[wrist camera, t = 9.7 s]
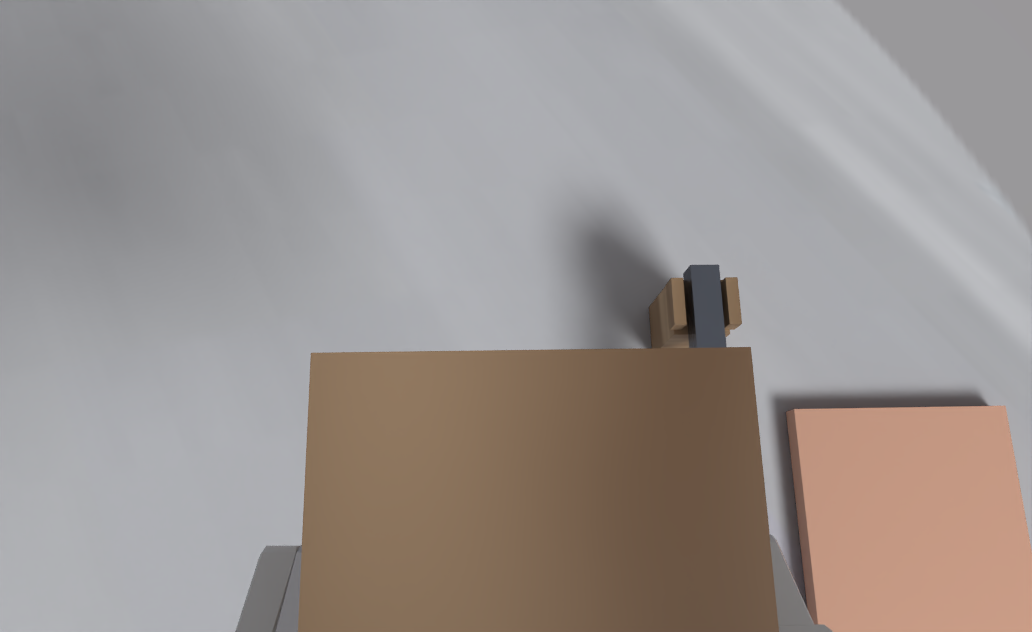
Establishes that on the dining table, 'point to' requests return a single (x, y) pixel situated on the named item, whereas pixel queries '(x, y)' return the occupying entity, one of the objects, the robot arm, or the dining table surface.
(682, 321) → the hurdle posts
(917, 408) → the coaster
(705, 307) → the metal bar
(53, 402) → the dining table surface
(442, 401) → the walnut block
